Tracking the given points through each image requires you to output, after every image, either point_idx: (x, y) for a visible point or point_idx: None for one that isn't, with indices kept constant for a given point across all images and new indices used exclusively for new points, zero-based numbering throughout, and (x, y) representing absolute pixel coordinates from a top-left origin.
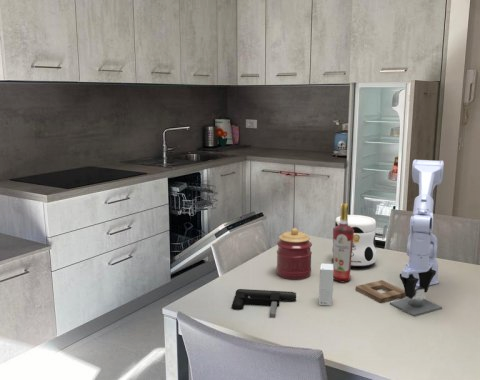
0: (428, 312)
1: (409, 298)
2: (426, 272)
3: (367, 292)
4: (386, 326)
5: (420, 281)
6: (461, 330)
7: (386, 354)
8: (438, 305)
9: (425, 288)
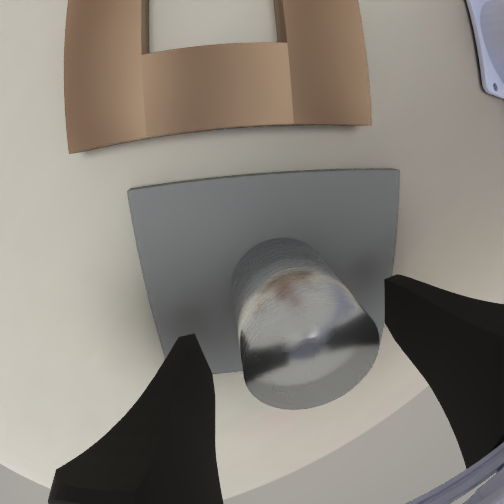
0: None
1: (236, 299)
2: (486, 434)
3: (67, 18)
4: (20, 375)
5: (434, 315)
6: (270, 462)
7: (4, 444)
8: (382, 327)
9: (401, 335)
